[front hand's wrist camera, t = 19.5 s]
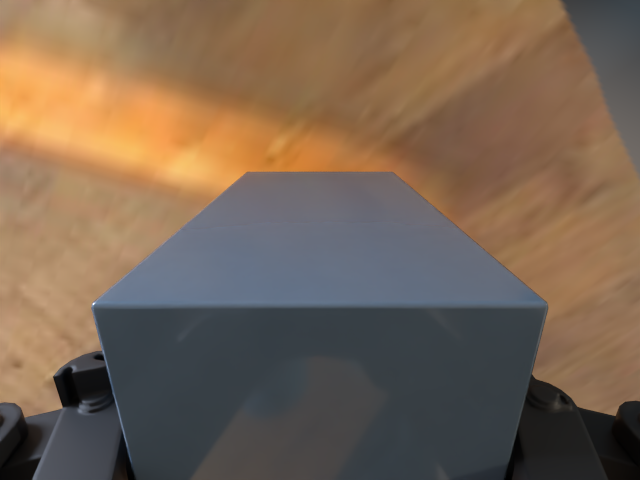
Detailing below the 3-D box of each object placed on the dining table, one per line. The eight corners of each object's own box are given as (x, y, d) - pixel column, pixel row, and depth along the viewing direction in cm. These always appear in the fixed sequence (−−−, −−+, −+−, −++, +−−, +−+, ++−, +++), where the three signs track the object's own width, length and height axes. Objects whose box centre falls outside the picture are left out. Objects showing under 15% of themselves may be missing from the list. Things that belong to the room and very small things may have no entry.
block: (382, 333, 19) (466, 636, 8) (257, 333, 19) (172, 637, 8) (393, 171, 16) (552, 303, 5) (245, 171, 16) (87, 303, 5)
